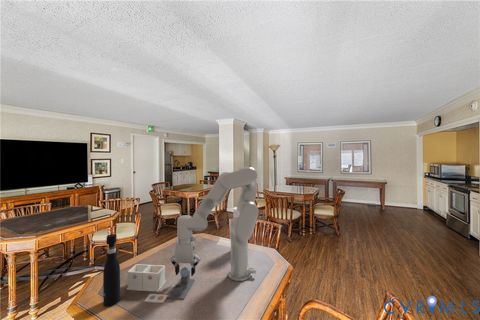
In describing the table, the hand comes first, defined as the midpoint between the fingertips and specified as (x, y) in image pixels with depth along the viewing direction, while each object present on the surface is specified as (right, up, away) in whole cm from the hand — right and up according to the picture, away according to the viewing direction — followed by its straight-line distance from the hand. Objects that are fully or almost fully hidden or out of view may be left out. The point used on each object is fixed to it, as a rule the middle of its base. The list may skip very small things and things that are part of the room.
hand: (185, 273), depth 106 cm
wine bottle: (-30, -5, -13) cm, 33 cm away
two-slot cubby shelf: (-19, -5, -1) cm, 20 cm away
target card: (-10, -5, -11) cm, 16 cm away
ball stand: (0, -5, -4) cm, 7 cm away
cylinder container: (+29, -5, +40) cm, 49 cm away
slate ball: (0, -1, 0) cm, 1 cm away
